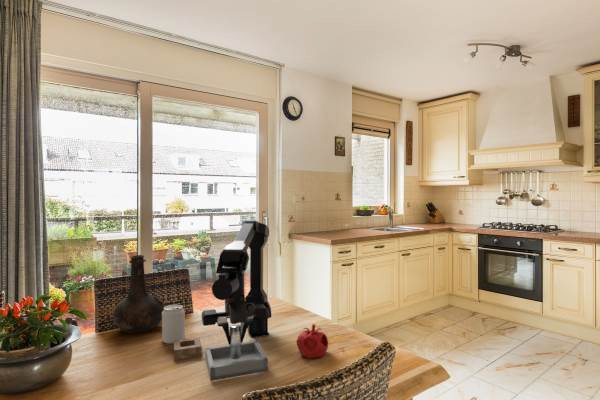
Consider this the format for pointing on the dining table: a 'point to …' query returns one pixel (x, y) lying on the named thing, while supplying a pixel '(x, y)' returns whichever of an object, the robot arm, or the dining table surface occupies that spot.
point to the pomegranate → (312, 343)
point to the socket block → (187, 348)
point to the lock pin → (235, 341)
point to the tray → (235, 361)
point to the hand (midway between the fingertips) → (235, 343)
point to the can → (173, 323)
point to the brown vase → (138, 303)
